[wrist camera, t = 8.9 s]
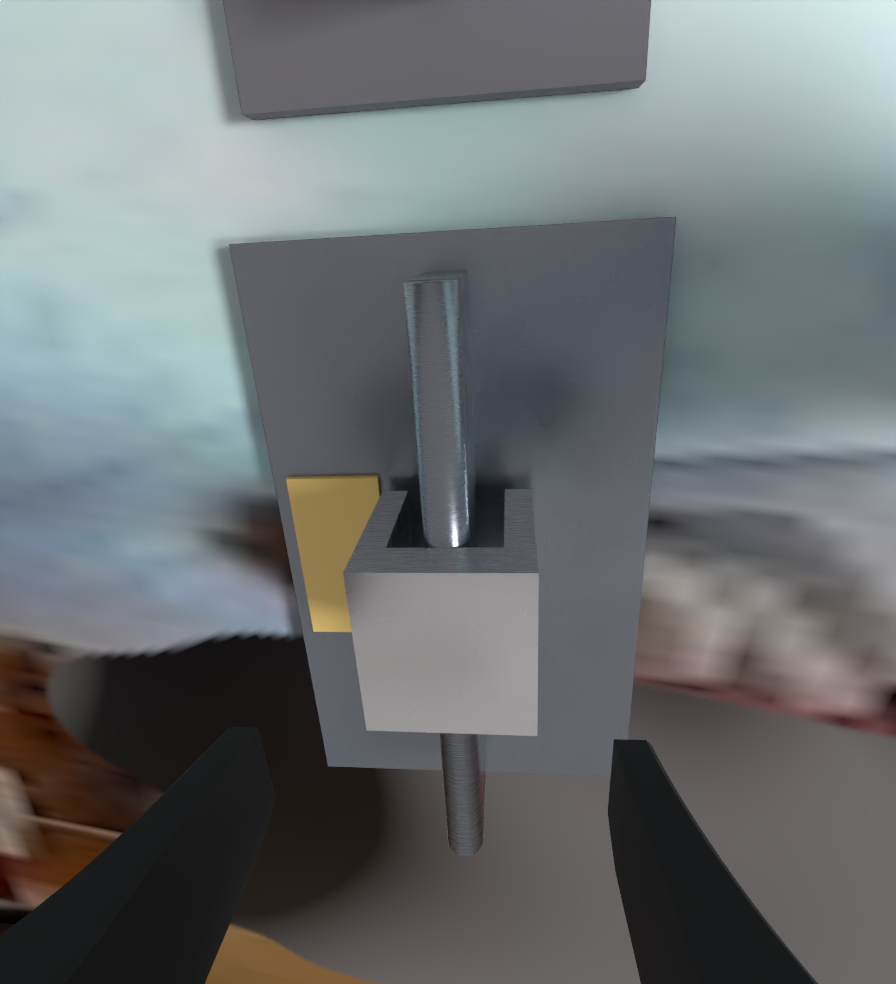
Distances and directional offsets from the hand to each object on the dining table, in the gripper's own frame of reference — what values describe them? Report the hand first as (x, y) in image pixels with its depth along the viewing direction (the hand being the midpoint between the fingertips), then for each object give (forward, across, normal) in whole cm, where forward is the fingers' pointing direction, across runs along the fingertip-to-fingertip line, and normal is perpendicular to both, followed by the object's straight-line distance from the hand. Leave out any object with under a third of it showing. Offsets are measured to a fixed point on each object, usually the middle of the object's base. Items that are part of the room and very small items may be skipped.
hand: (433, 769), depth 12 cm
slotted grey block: (+8, 0, 0) cm, 8 cm away
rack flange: (+9, 0, 0) cm, 9 cm away
